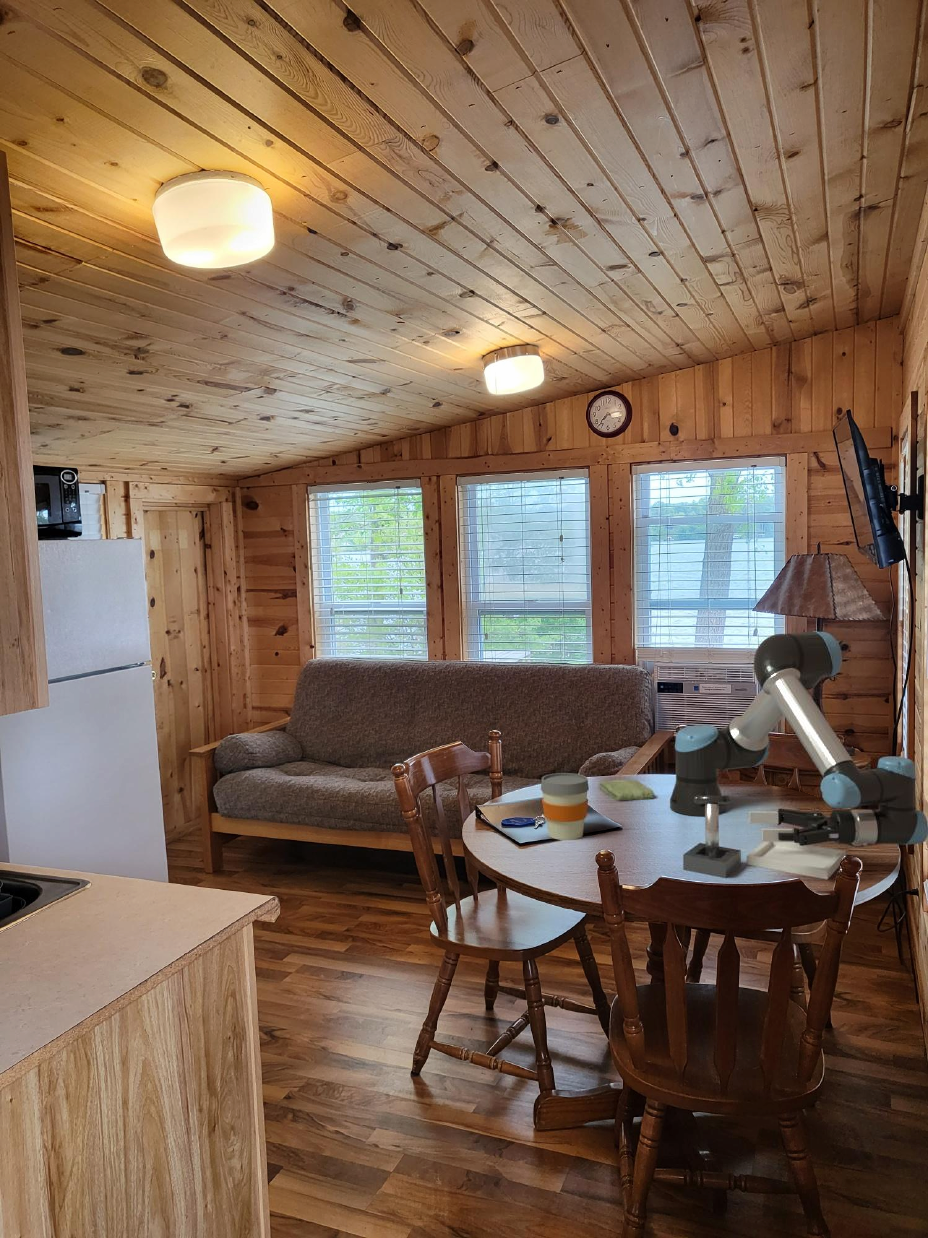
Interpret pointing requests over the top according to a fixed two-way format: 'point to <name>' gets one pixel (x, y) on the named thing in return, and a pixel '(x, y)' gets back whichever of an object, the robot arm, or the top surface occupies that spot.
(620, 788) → the washcloth
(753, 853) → the tray
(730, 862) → the chuck socket block
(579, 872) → the top surface
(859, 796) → the robot arm
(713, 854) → the chuck key
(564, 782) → the reusable coffee cup
